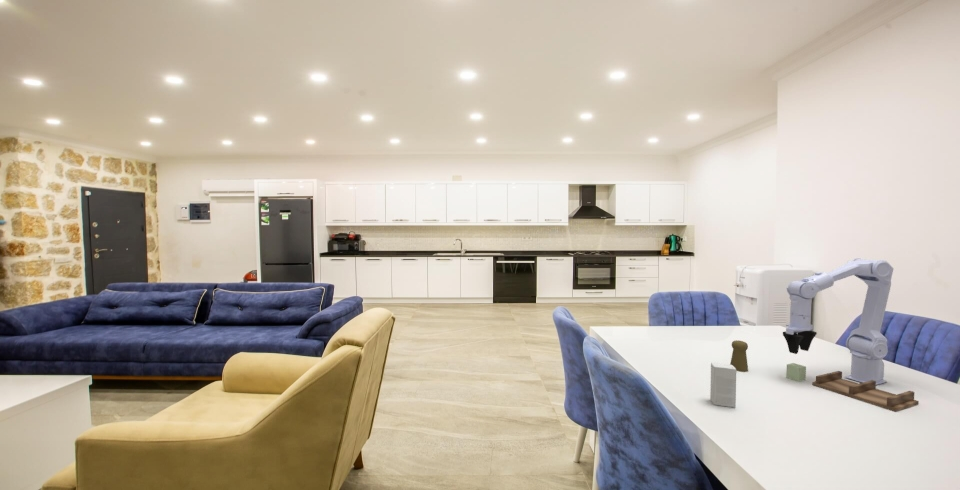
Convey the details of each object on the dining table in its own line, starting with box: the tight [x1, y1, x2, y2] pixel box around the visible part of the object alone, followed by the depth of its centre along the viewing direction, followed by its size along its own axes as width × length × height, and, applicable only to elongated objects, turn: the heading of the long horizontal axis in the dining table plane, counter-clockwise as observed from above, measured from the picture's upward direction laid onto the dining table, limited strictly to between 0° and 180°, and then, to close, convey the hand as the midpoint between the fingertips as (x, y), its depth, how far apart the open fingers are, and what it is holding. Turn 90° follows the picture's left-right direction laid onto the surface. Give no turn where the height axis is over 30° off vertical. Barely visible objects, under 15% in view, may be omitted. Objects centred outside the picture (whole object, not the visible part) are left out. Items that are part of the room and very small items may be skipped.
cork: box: [729, 340, 749, 373], centre depth 147 cm, size 6×6×11 cm
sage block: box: [785, 362, 807, 382], centre depth 138 cm, size 4×4×5 cm
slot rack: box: [811, 370, 920, 413], centre depth 125 cm, size 14×21×4 cm, turn 22°
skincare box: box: [709, 362, 737, 408], centre depth 117 cm, size 6×4×12 cm
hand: (798, 351), depth 136 cm, fingers open, 7 cm apart
